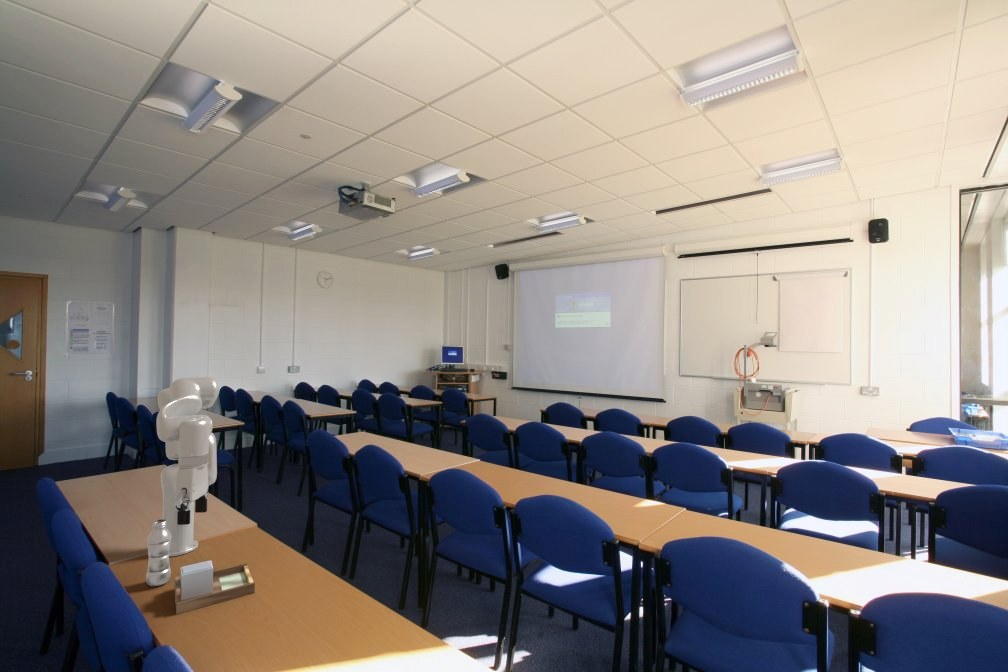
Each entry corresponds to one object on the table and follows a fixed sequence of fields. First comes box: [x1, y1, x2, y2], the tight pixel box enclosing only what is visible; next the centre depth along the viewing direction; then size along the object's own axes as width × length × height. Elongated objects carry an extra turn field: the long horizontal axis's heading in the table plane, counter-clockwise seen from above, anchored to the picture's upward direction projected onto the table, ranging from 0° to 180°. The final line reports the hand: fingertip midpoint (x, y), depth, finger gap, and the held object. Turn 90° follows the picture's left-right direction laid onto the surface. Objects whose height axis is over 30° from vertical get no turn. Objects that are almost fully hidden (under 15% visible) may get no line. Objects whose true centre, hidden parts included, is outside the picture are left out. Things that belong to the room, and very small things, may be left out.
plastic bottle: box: [145, 518, 172, 587], centre depth 151 cm, size 6×7×20 cm
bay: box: [173, 562, 256, 616], centre depth 147 cm, size 16×20×5 cm
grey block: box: [179, 559, 214, 601], centre depth 144 cm, size 6×8×8 cm
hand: (192, 518), depth 141 cm, fingers open, 9 cm apart
